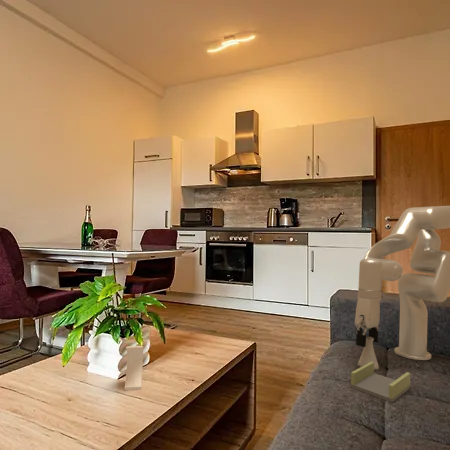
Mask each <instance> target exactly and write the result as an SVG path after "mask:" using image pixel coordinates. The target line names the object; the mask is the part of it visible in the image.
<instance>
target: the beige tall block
mask: <svg viewBox="0 0 450 450" xmlns="http://www.w3.org/2000/svg"><path fill="white" fill-rule="evenodd" d="M125 351H126V369H125V370H126V372H125V373H126V374H125V381H124V383H125V384H124V391H137V390H138V391H141V390H142V384H143V367H144V366H143V364H144V363H143V362H144V361H143V360H144V346H143V345H136V346H135V345H134V346H133V345H131V346H129V345H128V346H126V348H125Z"/></svg>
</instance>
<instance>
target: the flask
mask: <svg viewBox="0 0 450 450" xmlns="http://www.w3.org/2000/svg"><path fill="white" fill-rule="evenodd" d="M373 340H374V338H372V337H369V336H366V347H363V348H362V349H363V350H362V352H361V355H360V357H359V359H358V362H357V366H358V367H359V368H360V367H362V366H364V365H366V364H368V363H369V362H374V371H376V370H379V369H380V365H379V363H378V359H377V356H376V353H375V350H374V342H373Z"/></svg>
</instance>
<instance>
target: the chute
mask: <svg viewBox="0 0 450 450" xmlns="http://www.w3.org/2000/svg"><path fill="white" fill-rule="evenodd" d="M350 388H351V389H353V390H355V391H356V390H357V391H360V392H362V393H364V394H368V395H371V396H374V397H376V398H379V399H381V400H384V401H386V402H389V403H393V402H395V401H396V400H397V399H398V398H400V397H401V396H403V395H404V394H405V393H406V392H408V391H409V390H410V389H411V372H409V371H406V372H405V373H404V374H402V375H401V376H399V377H397V379H393V378H390V377H387V376H384V375H381V374H378V373H375V370H374V362H369V363H368V364H366V365H364V366H362V367H360V366H359V367H358V368H357V369H355V370H353V371H351V372H350Z"/></svg>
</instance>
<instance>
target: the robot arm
mask: <svg viewBox="0 0 450 450" xmlns="http://www.w3.org/2000/svg"><path fill="white" fill-rule="evenodd" d="M444 229H450V205H438V206H437V205H436V206H432V205H431V206H417V207H408V208H407V209H404V211H402V213H401V215H400V217H399V219H398V220H397V222H396V224H395V225H394V227H393V229H392V230H391V232H390V234H389V235H386V236H385V237H384V238H382V239H381V240H379V241H377V242H376V243H375V244H373V245H372V246H371V247H370V248H369V249H368V250H367V252H366V254H365V255H364V258H363V259H361V260H360V261H359V270H358V271H359V272H358V274H359V275H358V290H357V292H358V293H357V303H356V309H355V318H354V326H355V330H356V331H355V334H356V337H355V338H356V339H355V344H356V346H358V347H362V348H364V347H366V337H367V334H366V333H367V331H368V337H372V338H374V340H373V343H379V342H378V341H379V331H380V327H379V325H380V321H381V315H380V314H381V309H380V308H381V304H380V301H382V286H383V285H382V284H383V281H386V282H395V281H397V288H398V290H397V291H398V296H399V330H398V332H399V333H398V336H399V337H398V343H399V344H398V346H396V347H394V353H395V355H398V356H400V357H402V358H406V359H411V360H415V361H429V360H431V359H432V354H431V353H430V352H429V351H428V349H427V348H428V314H429V313H428V308H427V305H426V304H425V302H424V301H429V302H434V303H443V302H445V301H446V300H447V298H448V296H449V295H450V251H448V250H440V249H441V245H442V240H441V238H440V235H439V234H438V233H437V232H436V230H444ZM415 241H416V242H415ZM414 243H416V244H415V246H414V249H413V251H412V254H411V257H410V261H409V267H410V269H411V270H412V271H413V272H409V273H407V272H406V273H403V271H404V270H403V267H402V266H403V265H401V264H400V262H398V261H396V260H394V259H393V260H392V259H385V258H386V257H387V256H389V255H392V254H395V253H398V252H402V251H405V250H407V249H410V248H411V247H412V246H413V245H414ZM414 272H416V273H414Z"/></svg>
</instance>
